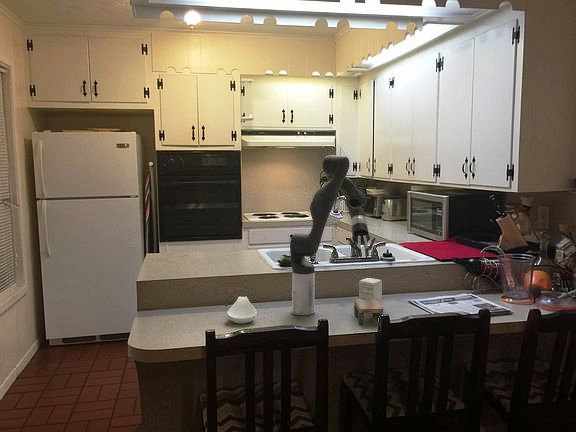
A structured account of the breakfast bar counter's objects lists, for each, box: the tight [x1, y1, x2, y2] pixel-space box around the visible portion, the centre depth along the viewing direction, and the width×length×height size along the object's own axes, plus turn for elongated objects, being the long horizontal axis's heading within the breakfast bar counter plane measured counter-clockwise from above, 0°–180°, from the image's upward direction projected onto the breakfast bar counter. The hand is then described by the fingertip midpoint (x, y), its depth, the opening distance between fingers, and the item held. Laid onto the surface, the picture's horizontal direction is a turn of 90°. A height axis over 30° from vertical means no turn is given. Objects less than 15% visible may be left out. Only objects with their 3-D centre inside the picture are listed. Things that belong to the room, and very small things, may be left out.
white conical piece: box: [226, 296, 258, 325], centre depth 202 cm, size 24×12×7 cm, turn 5°
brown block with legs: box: [353, 298, 384, 325], centre depth 196 cm, size 9×15×7 cm, turn 2°
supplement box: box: [358, 277, 383, 307], centre depth 212 cm, size 7×7×13 cm
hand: (363, 256), depth 226 cm, fingers closed
